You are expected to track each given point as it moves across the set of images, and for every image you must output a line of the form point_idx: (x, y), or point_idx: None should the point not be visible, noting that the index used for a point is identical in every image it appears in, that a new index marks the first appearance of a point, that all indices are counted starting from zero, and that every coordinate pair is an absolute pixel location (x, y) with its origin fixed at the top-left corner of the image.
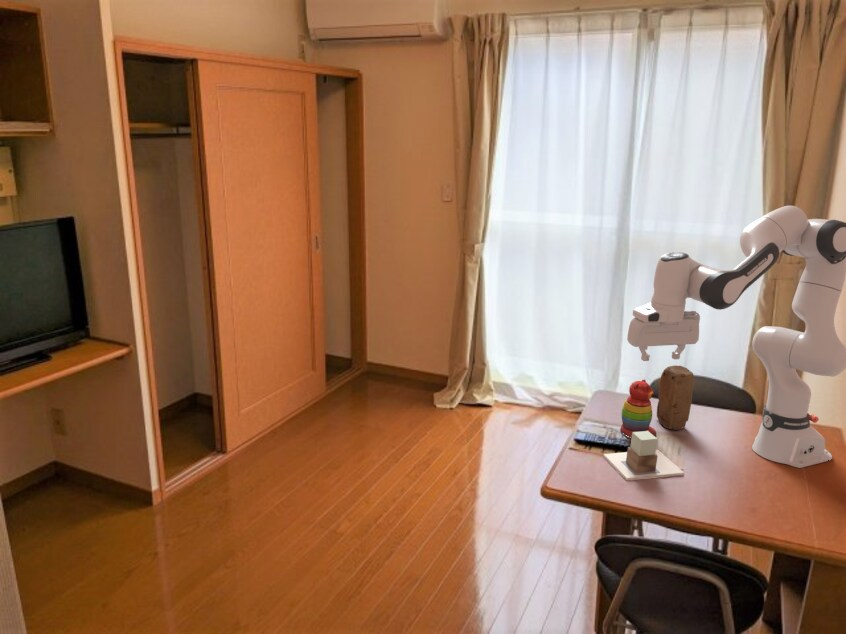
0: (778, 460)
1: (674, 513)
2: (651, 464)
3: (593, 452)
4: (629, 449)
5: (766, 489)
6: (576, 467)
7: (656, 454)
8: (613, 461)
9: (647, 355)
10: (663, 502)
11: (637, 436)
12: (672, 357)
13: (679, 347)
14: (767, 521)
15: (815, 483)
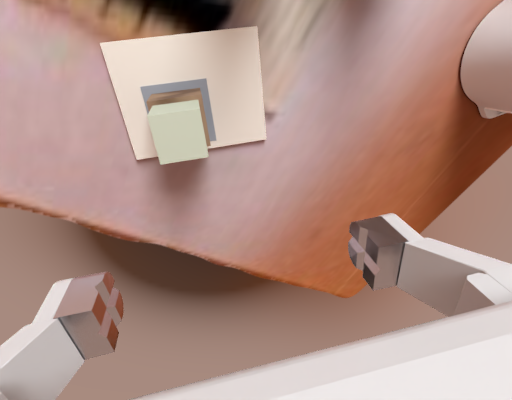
0: (471, 96)
1: (193, 248)
2: None
3: (75, 14)
4: (149, 110)
5: (375, 182)
6: (19, 98)
7: (209, 141)
8: (120, 86)
9: (87, 358)
10: (186, 223)
11: (155, 143)
12: (352, 231)
13: (461, 289)
14: (316, 256)
15: (461, 165)
